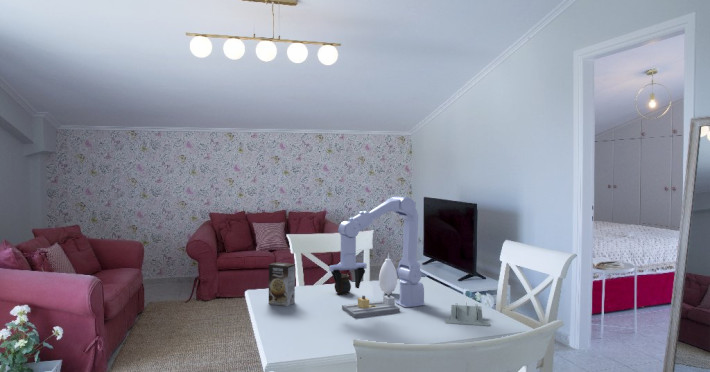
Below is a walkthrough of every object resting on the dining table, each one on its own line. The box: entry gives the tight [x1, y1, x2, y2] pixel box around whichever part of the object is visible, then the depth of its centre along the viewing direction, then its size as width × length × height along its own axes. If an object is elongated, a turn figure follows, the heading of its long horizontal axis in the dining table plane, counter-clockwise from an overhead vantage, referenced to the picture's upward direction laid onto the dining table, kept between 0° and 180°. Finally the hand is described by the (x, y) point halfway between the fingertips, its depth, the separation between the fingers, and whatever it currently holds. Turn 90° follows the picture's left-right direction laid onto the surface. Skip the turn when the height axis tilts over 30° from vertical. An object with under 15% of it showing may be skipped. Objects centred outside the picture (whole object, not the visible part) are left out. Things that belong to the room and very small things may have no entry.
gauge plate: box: [341, 293, 401, 319], centre depth 186 cm, size 19×12×6 cm, turn 114°
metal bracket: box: [445, 302, 490, 328], centre depth 176 cm, size 14×6×15 cm
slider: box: [357, 295, 370, 308], centre depth 185 cm, size 3×4×4 cm
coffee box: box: [268, 261, 296, 307], centre depth 195 cm, size 9×6×16 cm
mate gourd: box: [334, 272, 352, 295], centre depth 211 cm, size 7×8×10 cm
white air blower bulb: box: [378, 252, 398, 295], centre depth 211 cm, size 8×8×18 cm
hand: (347, 288), depth 182 cm, fingers open, 7 cm apart
